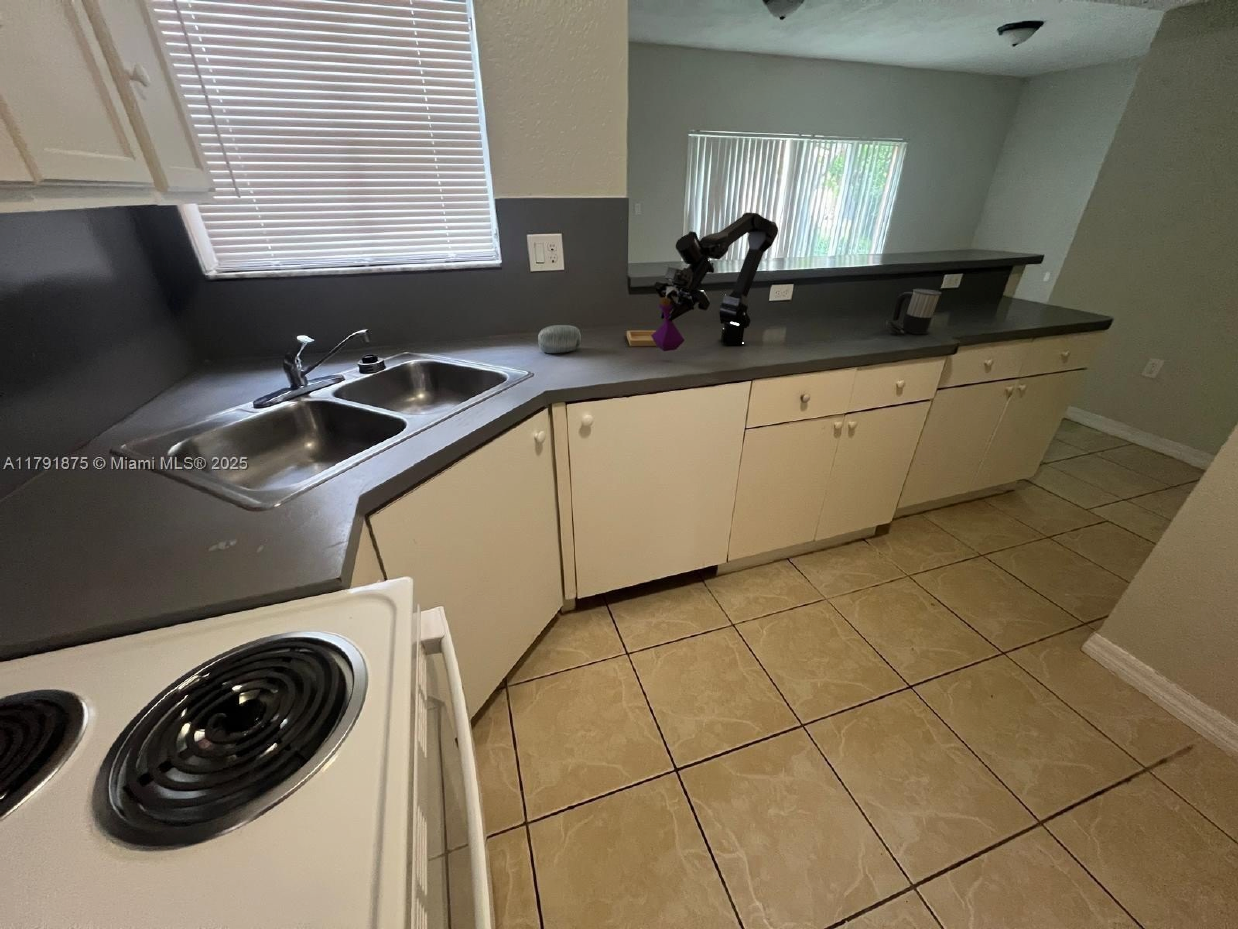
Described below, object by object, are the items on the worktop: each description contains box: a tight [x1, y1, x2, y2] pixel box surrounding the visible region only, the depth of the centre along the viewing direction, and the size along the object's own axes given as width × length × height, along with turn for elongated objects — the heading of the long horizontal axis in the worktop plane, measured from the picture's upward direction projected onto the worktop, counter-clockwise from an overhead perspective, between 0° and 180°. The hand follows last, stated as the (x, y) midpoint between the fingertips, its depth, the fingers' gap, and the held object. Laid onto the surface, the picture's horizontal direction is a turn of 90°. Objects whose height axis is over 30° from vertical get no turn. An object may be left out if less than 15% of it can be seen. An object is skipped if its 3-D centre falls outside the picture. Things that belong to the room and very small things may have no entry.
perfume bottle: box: [651, 285, 685, 352], centre depth 142 cm, size 8×8×18 cm
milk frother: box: [886, 288, 942, 335], centre depth 180 cm, size 14×16×15 cm
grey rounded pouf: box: [537, 324, 582, 354], centre depth 154 cm, size 14×10×10 cm
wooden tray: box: [626, 330, 658, 347], centre depth 167 cm, size 12×12×2 cm
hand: (665, 319), depth 142 cm, fingers closed on perfume bottle, 3 cm apart
